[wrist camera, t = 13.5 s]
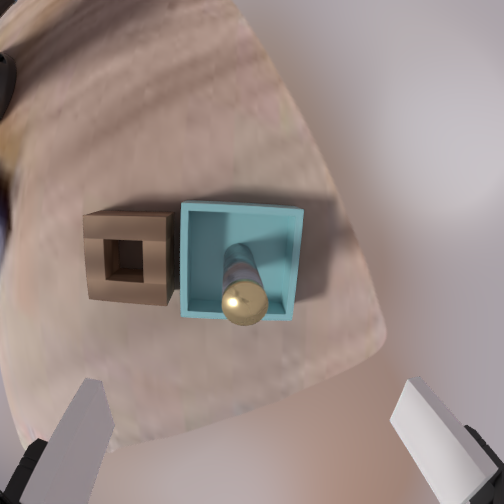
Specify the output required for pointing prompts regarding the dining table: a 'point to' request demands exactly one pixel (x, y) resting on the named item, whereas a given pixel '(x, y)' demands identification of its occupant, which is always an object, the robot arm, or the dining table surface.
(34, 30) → the dining table surface
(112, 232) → the block
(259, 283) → the steel pin
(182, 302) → the pin tray
